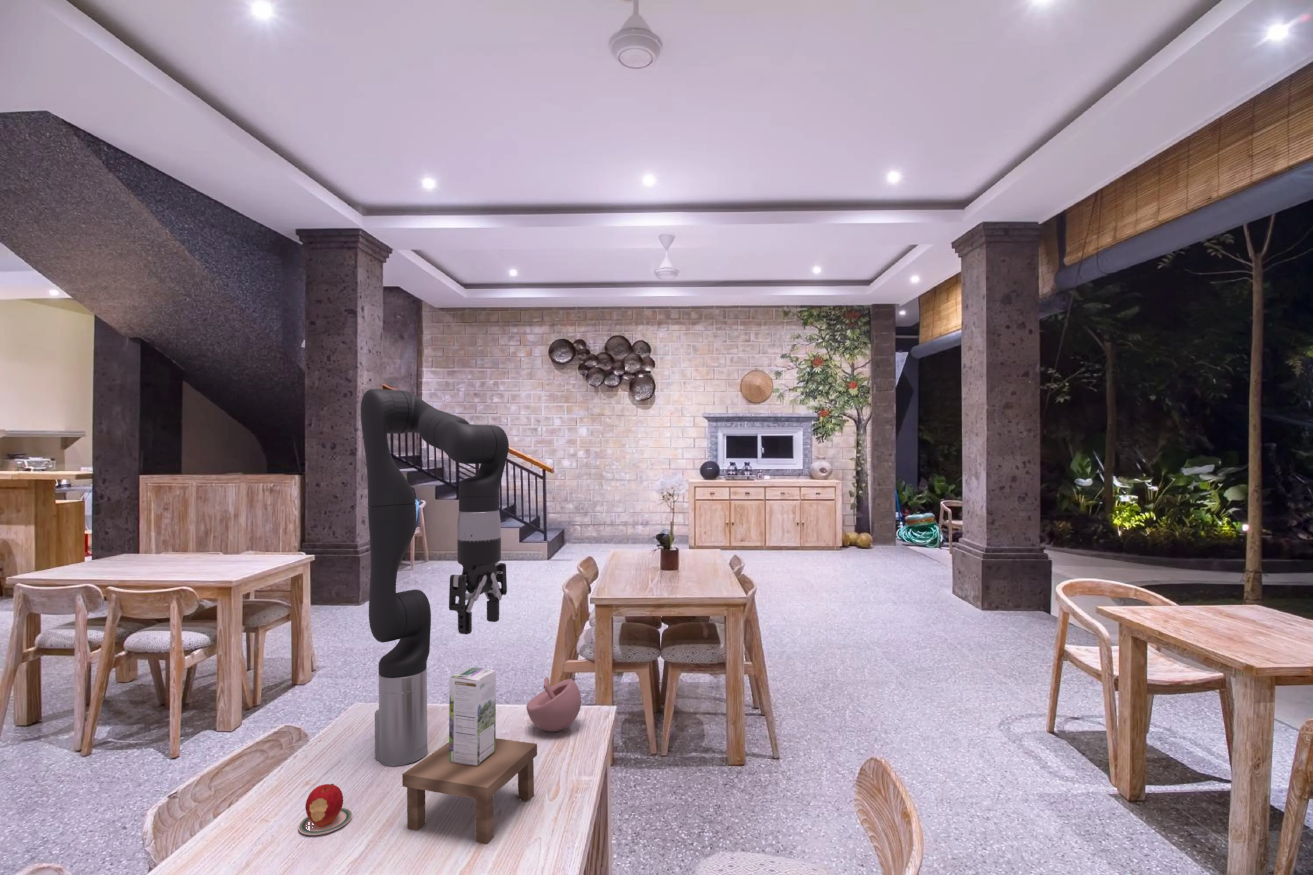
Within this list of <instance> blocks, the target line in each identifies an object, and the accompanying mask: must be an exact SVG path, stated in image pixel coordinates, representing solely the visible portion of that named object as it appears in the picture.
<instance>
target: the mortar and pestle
mask: <svg viewBox="0 0 1313 875" xmlns="http://www.w3.org/2000/svg"><path fill="white" fill-rule="evenodd" d="M543 679H544V684H543V689H544V690H543V691H541V692H540V693H539V694H537V695H536V696H534V697H533V698H532V699H530V700H529V701H528V702H527V704H526V707H525V708H526V712H527V715H528V717H529V718H530V721H531V722H532V723H533V725H534V726H536V727H537V728H539V729H540V730H542V731H546V732H550V733H553V732H554V733H555V732H559V731H562V730H564V729H567V728H568V727H569V726H571V725H572V724H573V723H574V722H575V720H576V718H577V717H578V715H579V714H580V713H579V712H580V711H581V707H582V696H581V692H580V689H579V686H578V685H577V683H576V682H575V681H574V680H573V678H568V679H564V680H561V681H559V682H557V683H555V684H553V685H551V686H550V679H549V677H545V678H543Z"/></svg>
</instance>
